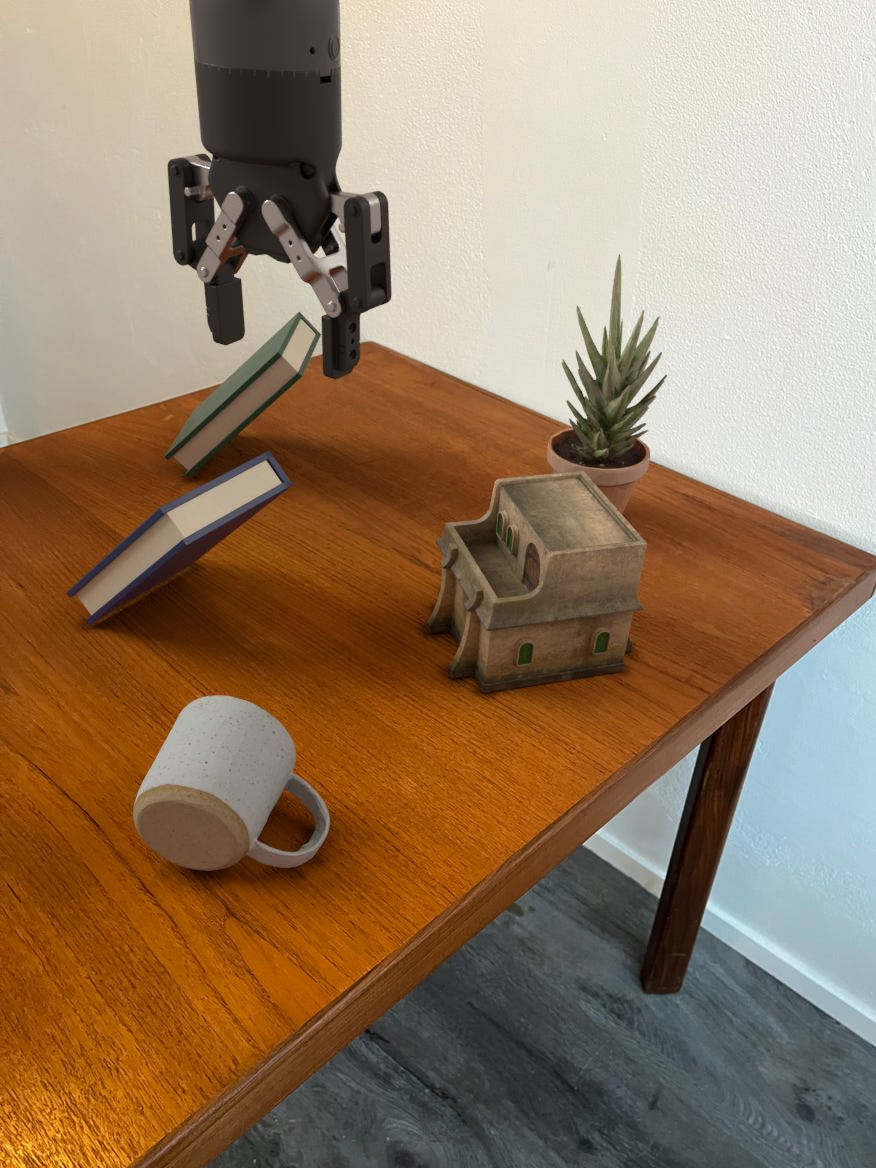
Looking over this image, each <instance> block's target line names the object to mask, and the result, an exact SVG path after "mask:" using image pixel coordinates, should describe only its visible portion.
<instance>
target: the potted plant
mask: <svg viewBox="0 0 876 1168" xmlns="http://www.w3.org/2000/svg"><path fill="white" fill-rule="evenodd" d="M621 259H622V258H621V253H619V254H618V257H617V260H616V264H615V269H614V277H613V284H612V289H611V301H610V311H609V312H610V315H609V328H608V330H607V326H606V325H604V327H603V332H602V333H603V335H602V340H601V353H600V351H599V350H598V348H597V346H596V344H595V342H594V340H593V338H592V336H591V334H590V331H589V328H588V326H587V323H586V321H585V319H584V316H583V314H582V311H581V309H580V306H579V305H576V316H577V321H578V325H579V329H580V331H581V336H582V338H583V341H584V345H585V349H586V352H587V355H588V358H589V360H590V364H591V367H592V369H593V373H594V375H595V379H594V377H593V375H592V374H591V373H590V372H589V370H588V368H587V367H586V365H585V363H584V361H583V359H582V357H581V355H580V353H579V352H578V350H577V349H575V358H576V362H577V366H578V369H577V374H578V377H579V379H580V382H581V384H582V386H583V388H584V390H585V392H586V395H587V396H586V395H584V393H583V390H582V389H581V387H580V386H579V384H578V382H577V379H576V378H575V375H574V374H573V372H572V370H571V369H570V367H569V366H568V364H567V363H566V360H565V359H562V362H561V366H562V369H563V372H564V373H565V375H566V378H567V380H568V382H569V384H570V386H571V388H572V390H573V392H574V395H575V396H576V398H577V399H578V401H579V403H580V405H581V408H582V410H583V412H584V414H585V416H586V418H585V417H584V416H583V415H582V414H581V413H580V412H579V411H578V409H577V408H576V407H575V406H574V405H573V404H572V403H571V402H570V400H568V399H566V401H565V402H566V404H567V406H568V409H569V410H570V411H571V413H572V415H573V416H574V417H575V418H576V423H575V421H574V420H572V419H571V418H568V421H569V424H570V426H571V427H567V428H565V429H562V430H559V431H557V432H555V433H554V434H552V435H551V436H550V438H549V440H548V441H547V454H546V455H547V456H546V458H547V463H548V464H549V465H550V467H551V469H552V472H553V473H552V474H557V473H568V472H580V471H584V472H585V473H586V474H587V476H588V477H589V478H590V479H591V480H592V481H593V482H594V484H595V485H596V486H597V487H598V488H599V489H600V490H601V491H602V493H603V494H604V495H605V496H606V497H607V498H608V499H609V501H610V502H611V503H612V504H613V505H614V506H615V507H616V509H617V510H618V511H619V512H620V513H621V514H622V515H623V514H624V511H625V509H626V508H627V505H628V503H629V501H630V499H631V497H632V495H633V493H634V491H635V489H636V487H637V485H638V482H639V480H640V479H641V478H642V477H644V476H645V474H646V473H647V471H648V469H649V464H650V460H651V450H650V447H649V445H647V443H645V441H643V440H642V439H640V438H641V437H642V436H643V435H644V434H646V433H648V432H649V429H645V430H642V428H643V427H645V426H646V425H647V423H646V422H644V423H641V424H639V425H637V426H635V425H636V424H637V423H638V422H639V421H640V420H641V419H642V417H643V416H644V415H645V414H646V413H647V412H648V410H649V409H650V407H649V406H650V405H651V404H652V403H653V402H654V400H655V399H656V398H657V395H656V393H657V392H658V391H659V390H660V388H662V386H663V384H664V383H665V380H666V379H667V378H668V374H665V375H664V376H663V377H662V378H661V379H660V381H658V383H656V385H655V386H654V387H653V388H652V389H651V390H649V392H647V393H646V394H645V395H644V396H643V397H642V399H640V401H639V402H637V403H636V404H634V405H632V406H629V405H630V404H631V403H632V401H634V399H635V397H636V396H637V395H638V393H639V392H640V390H641V389H642V387H643V386H644V385H645V383H646V382H647V380H648V379H649V377H650V376H651V374H652V373H653V371H654V369H655V368H656V366H657V364H658V363H659V361H660V359H661V357H662V354H663V351H660V352H659V353H658V354H657V356H656V357H655V358H654V359H653V360H652V361H651V362H650V364H649V365H648V366H647V364H648V362H649V359H650V355H651V350H649V349H650V347H651V344H652V342H653V341H654V337H655V335H656V333H657V329H658V326H659V320H660V318H661V316H658V315H657V317H656V319H655V320H654V321H653V324H652V325H651V327H650V328H649V329H648V331H647V332H646V334H645V335H644V336H643V338H642V340H640V342H639V339H640V335H641V332H642V331H641V330H642V326H643V323H644V317H645V309H643V310H642V311H641V314H640V315H639V317H638V319H637V321H636V324H635V326H634V327H633V330H632V332H631V335H630V337H629V338H628V340H627V343H626V345H625V347H624V349H623V351H622V342H623V328H624V327H623V325H624V322H623V319H621V313H622V312H621V311H622V260H621ZM638 342H639V343H638ZM646 367H647V368H646ZM641 430H642V431H641ZM639 431H640V432H639ZM637 432H638V433H637Z"/></svg>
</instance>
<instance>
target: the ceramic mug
mask: <svg viewBox="0 0 876 1168" xmlns="http://www.w3.org/2000/svg"><path fill="white" fill-rule="evenodd" d="M296 752H297V751H296V746H295V742H294V740H293V739H292V737H291V735H290V733H289V732H288V730H287V728H286V727H285V726H284V725H283V723H281V722H280V720H279V719H277V718H275V716H274V715H272V714H271V713H270V712H268V711H267V710H265V709H264V708H262V707H260V706H259V705H256V704H255V703H253V702H251V701H248V700H245V699H242V698H237V697H235V696H230V695H222V694H221V695H220V694H219V695H218V694H217V695H207V696H202V697H199V698H196V699H194V700H192V701H191V702H190V703H187V705H185V707H183V708H182V710H181V712H180V713H179V714H178V716H177V718H176V721H175V722H174V723H173V726H172V728H171V730H170V731H169V733H168V735H167V737H166V738H165V740H164V742H163V744H162V746H161V748H160V749H159V751H158V753H157V755H156V757H155V759H154V760H153V763H152V764H151V766H150V767H149V770H148V771H147V773H146V774H145V777H144V779H143V781H142V782H141V785H140V786H139V789H138V791H137V793H136V798H135V801H134V802H133V809H132V820H133V823H134V826H135V828H136V831H137V833H138V835H139V836H140V838H141V839H142V841H143V842H144V843H145V844H146V845H147V846H148V847H149V848H150V849H151V850H152V851H153V852H154V853H155V854H157V855H158V856H160V857H161V858H163V859H165V860H166V861H167V862H170V863H172V864H174V865H177V866H180V867H182V868H186V869H190V870H194V871H205V872H210V871H218V870H225V869H227V868H231V867H233V866H235V865H236V864H238V863H239V862H240V861H241V860H242V859H244V858H245V857H247V856H248V857H249V858H252V860H254V861H257V862H259V864H262V865H265V866H269V867H270V866H272V867H274V868H280V869H291V868H292V869H293V868H296V867H299V866H301V865H303V864H305V863H307V862H308V861H310V860H311V859H313V858H314V856H315V855H316V854H317V853H318V851H319V849H320V848H321V847H322V845H323V843H324V842H325V840H326V838H327V836H328V834H329V831H330V825H331V819H330V818H331V817H330V813H329V809H328V807H327V805H326V804H325V801H324V800H323V798H322V797H321V795H320V794H319V793H318V791H316V789H314V787H313V786H311V784H309V783H308V782H307V781H306V780H305V779H304V778H302V777H301V776H299V775H297V774H296V773H294V769H295V766H296V761H297V760H296V759H297V753H296ZM283 791H287V792H289V793H290V794H291V795H293V796H294V797H295V798H296V799H298V800H299V801H300V802H301V803H302V804H303V805H304V806H305V807H306V808H307V809H308V810H309V813H310V814H311V815H312V817H313V820H314V822H315V826H314V827H315V829H314V831H313V833H312V834H311V837H310V839H309V840H308V842H307V843H305V844H303V845H302V846H300V848H299V849H298V850H297V851H284V850H281V849H279V848H274V847H271V846H269V845H268V844H266V843H262V842H261V841H259V840H258V838H259V837H260V835H261V833H262V831H263V830H264V827H265V825H266V824H267V822H268V818H269V816H270V814H271V813H272V811H273V809H274V807H275V806H276V804H277V803H278V801H279V799H280V797H281V795H282V793H283Z"/></svg>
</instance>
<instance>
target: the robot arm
mask: <svg viewBox="0 0 876 1168" xmlns="http://www.w3.org/2000/svg"><path fill="white" fill-rule="evenodd" d="M340 3H341V2H340V0H188V5H189V18H190V19H189V20H190V29H191V39H192V51H193V52H192V53H193V63H194V65H193V66H194V74H195V76H194V77H195V86H196V88H195V89H196V98H197V99H196V100H197V111H198V119H199V120H198V122H199V132H200V141H201V145H202V146H203V148H204V149H205V150H206V151H207V152H208V153H209V154H210V155H211V156H212V157H210V156H209V155H208V154H206V153H197V154H192V155H187V156H182V157H176V158H170V159H169V160H168V162H167V180H168V181H167V182H168V195H169V210H170V212H169V213H170V225H171V227H170V228H171V243H172V244H171V245H172V254H173V258H174V260H175V262H176V263H177V264H178V265H180V266H181V267H184V266H187V265H188V266H189V267H190V268H191V269H193V270H194V271H196V273H197V277H198V279H199V280H200V281H201V282H203V288H204V289H203V290H204V299H205V309H206V310H205V311H206V321H207V322H206V323H207V325H208V327H209V328H208V329H209V331H210V333H211V335H212V336H211V337H212V341H213V342H214V343H216V344H219V345H222V346H229V345H231V344H235V343H237V342H240V341H241V340H243V339H244V337H245V334H246V326H245V311H244V299H243V298H244V297H243V284H242V283H243V282H242V278H240V277H237V276H235V275H237V274H238V273H239V271H240V269H241V268H242V266H243V265H244V263H245V261H246V259H247V258H248V256H249V255H252V256H255V257H256V256H265V255H266V256H267V257H269V258H271V259H272V260H275V261H277V262H280V263H284V264H286V265H288V264H292V266H293V268H294V269H295V271H296V273H297V275H298V277H299V279H300V280H301V281H303V282H304V283H306V284H309V285H310V287H311V288H312V290H313V292H314V294H315V295H316V297H317V299H318V301H319V303H320V305H321V308H323V310H324V312H325V314H323V315H321V317H320V318H321V349H322V351H321V352H322V353H321V355H322V374H323V376H324V377H326V378H330V379H332V380H339V379H341V378H343V377H345V376H347V375H350V374H351V373H352V372H353V370H354V369H355V367H357V366H358V364H359V362H360V359H361V315H362V314H364V313H366V312H368V311H371V310H373V309H375V308H377V307H379V306H384V305H386V304H388V303H390V301H391V299H392V297H393V296H392V271H391V266H392V265H391V239H390V214H389V200H388V198H387V196H386V194H385V193H384V192H382V191H380V190H376V191H370V192H365V193H354V192H348V191H343V190H342V188H341V185H340V183H339V179H338V175H337V163H338V161H339V156H340V154H341V151H342V148H343V117H342V116H343V115H342V113H343V111H342V108H343V107H342V50H341V48H342V47H341V45H342V43H341V41H342V39H341V35H342V34H341V4H340ZM215 202H216V204H217V205H218V207H219V209H220V210H221V211H220V212H219V215H218V217H217V218H216V212H215ZM337 220H339V222H340V223H339V224H338V227H336V225H335V224H336V221H337ZM193 226H194V233H195V239H194V238H193ZM337 228H338V229H337ZM339 232H340V233H341V234H344V240H343V239H342V236H341V235H340V233H339ZM193 239H194V240H193ZM320 247H321V249H322V251H323V254H324V255H325V256H321V257H318V256H316V255H315V254H316V253H317V252H318V251H319V249H320Z"/></svg>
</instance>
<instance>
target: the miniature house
mask: <svg viewBox="0 0 876 1168" xmlns="http://www.w3.org/2000/svg"><path fill="white" fill-rule="evenodd" d="M443 530H444V531H443V533H442V536H441V537H440V538H438V539H436V540H435V544H436V545H437V548H438V549H439V551H440V553H441V555H442V559H441V560H440V561H439V564H440V565H441V575H440V576H441V579H440V589H439V593H438V597H437V600H436V603H435V605H434V608H433V609H432V613H431V615H430V617H429V618H428V619H427V620H426V630H427V632H428V634H429V635H435V634H442V633H443V634H444V633H450V635H451V637H452V639H453V640H454V642H455V645H456V647H457V648H458V649H457V651H456V654H455V656H454V658H453V660H452V661H451V663H449V664H448V675H449V677H450V678H451V680H455V679H463V678H470V677H472V678H474V680H475V683H476V685H477V686H478V688H479V690H480V692H481V693H482V694H491V693H497V692H503V691H504V692H505V691H511V690H517V689H522V688H530V687H535V686H536V687H537V686H542V685H547V684H554V683H560V682H561V683H562V682H566V681H567V682H568V681H573V680H578V679H586V678H592V677H598V676H604V675H611V674H616V673H622V672H624V671H625V665H626V662H625V654H626V653H631V652H632V648H633V642H632V641H631V638H630V631H631V627H632V626H631V625H632V620H633V615H634V612H636V611H642V610H644V608H645V607H644V606H643V604H642V603H641V602H640V600H639V597H638V592H639V591H638V590H639V586H640V581H641V576H642V571H643V567H644V562H645V557H646V551H647V547H648V543H647V541H646V540H645V539H644V538H643V537H642V535H641V534H640V533H639V532H638V531H637V530H636V529H635V528H634V526H633V525H632V524H631V523H630V522H629V521H628V520H627V519H626V518H625V517H624V515H623V514H621V513H620V512H619V511H618V510H617V509H616V507H615V506H614V505H613V504H612V503H611V502H610V501H609V499H608V498H607V497H606V496H605V495H604V494H603V493H602V491H601V490H600V489H599V488H598V487H597V486H596V485H595V484H594V482H593V481H592V480H591V479H590V478H589V477H588V476H587V474H586V473H585V472H584V471H580V472H568V473H557V474H554V473H547V474H546V473H545V474H537V475H536V474H535V475H525V476H524V475H523V476H515V477H504V478H503V477H502V478H497V479H496V480H495V481H494V483H493V488H492V493H491V499H490V504H489V508H488V510H487V512H486V513H485V514H483V516H481V517H480V518H477V519H473V520H461V521H452V522H445V523H444V529H443Z"/></svg>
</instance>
